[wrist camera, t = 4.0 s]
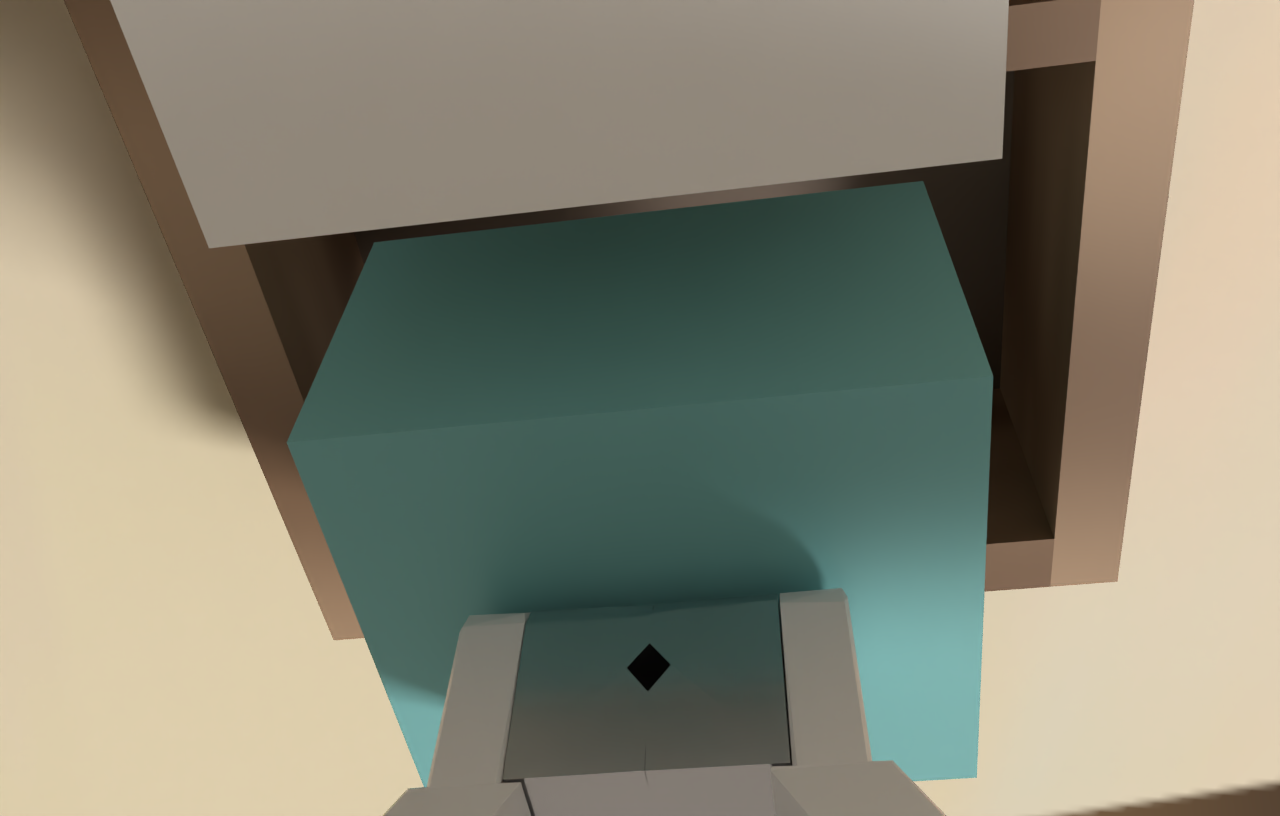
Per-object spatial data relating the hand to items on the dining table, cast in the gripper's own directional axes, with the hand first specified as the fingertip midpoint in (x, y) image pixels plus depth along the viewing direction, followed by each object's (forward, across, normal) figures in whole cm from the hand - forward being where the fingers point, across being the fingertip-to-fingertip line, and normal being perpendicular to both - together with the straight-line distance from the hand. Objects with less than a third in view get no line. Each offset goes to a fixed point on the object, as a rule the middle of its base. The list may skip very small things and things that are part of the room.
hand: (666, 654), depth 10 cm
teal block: (+4, 0, 0) cm, 4 cm away
